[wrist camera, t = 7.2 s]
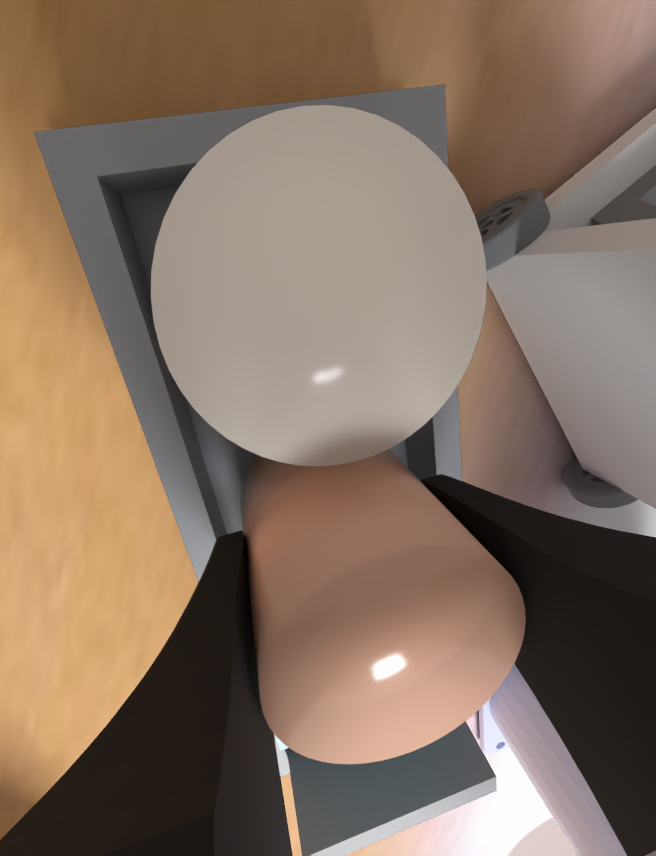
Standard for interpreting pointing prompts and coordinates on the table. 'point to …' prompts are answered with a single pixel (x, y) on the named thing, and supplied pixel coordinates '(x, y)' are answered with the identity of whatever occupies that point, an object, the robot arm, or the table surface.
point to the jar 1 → (318, 285)
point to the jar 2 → (370, 609)
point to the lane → (223, 459)
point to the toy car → (589, 310)
